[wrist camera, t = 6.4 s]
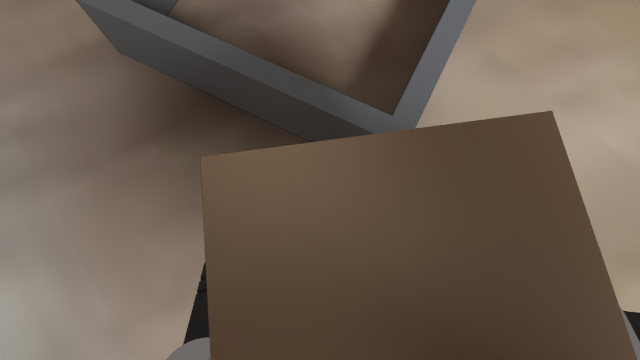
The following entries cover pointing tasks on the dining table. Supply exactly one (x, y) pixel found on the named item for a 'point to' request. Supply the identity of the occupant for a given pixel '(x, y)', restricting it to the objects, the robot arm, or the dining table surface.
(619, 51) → the dining table surface
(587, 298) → the walnut block
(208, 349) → the robot arm
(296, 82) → the box
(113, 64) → the dining table surface
